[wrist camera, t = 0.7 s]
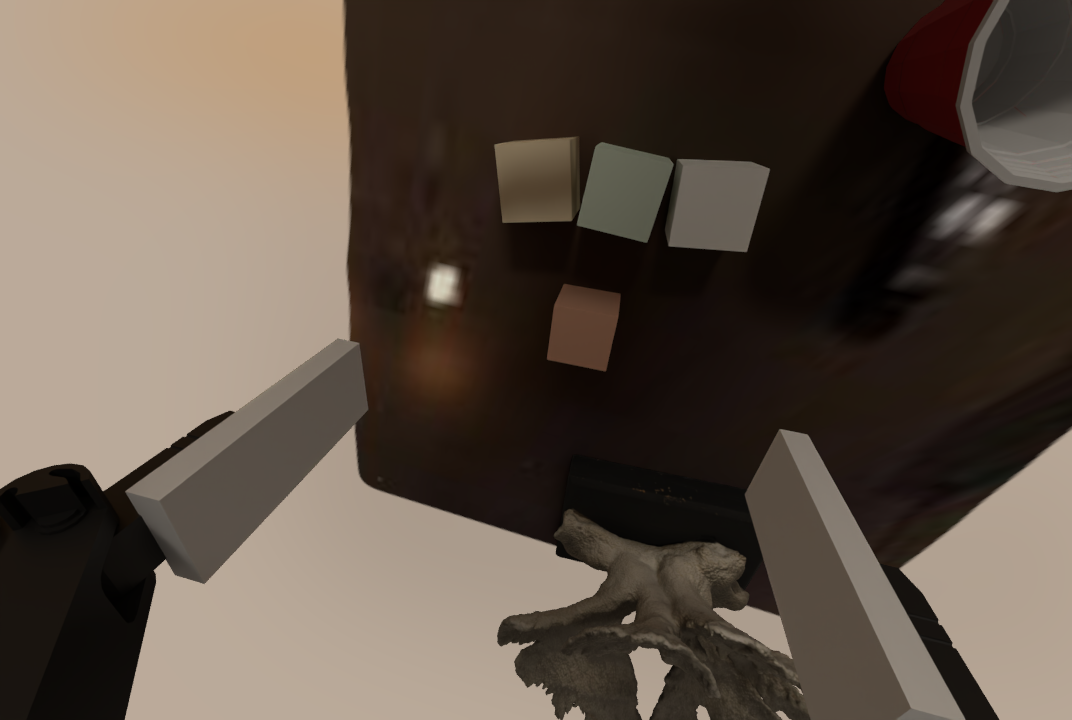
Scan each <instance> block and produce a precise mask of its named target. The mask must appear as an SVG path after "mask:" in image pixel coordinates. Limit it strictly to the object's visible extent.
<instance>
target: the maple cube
mask: <svg viewBox="0 0 1072 720" xmlns="http://www.w3.org/2000/svg"><path fill="white" fill-rule="evenodd" d="M495 154H496V163H497V173H498V183H499V192H500V202H501V211H502V221H503V223H515V222H553V221H572V220H573V218H574V217H575V215H576V213H577V212H578V210H579V209H580V164H579V137H564V138H550V139H536V140H522V141H511V142H506V143H501V144H496V145H495Z"/></svg>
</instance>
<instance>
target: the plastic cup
mask: <svg viewBox="0 0 1072 720" xmlns="http://www.w3.org/2000/svg"><path fill="white" fill-rule="evenodd" d="M884 91H885V94H886V96H887V99H888V102H889V105H890V106H891V108H892V109H893V110H895V111H896V112H897V113H898V114H900V115H901V116H902V117H903V118H905V119H906V120H908V121H911V122H913V123H916V124H918V125H920V126H921V127H922V128H923V129H925V130H927V131H930V132H932V133H934V134H937V135H939V136H941V137H943V138H946V139H948V140H950V141H953V142H955V143H957V144H960V145H962V146H964V147H966V149H967V152H968V153H970V154H971V155H972V156H973V157H974V158H975V159H977V160H978V161H979V162H980V163H981V164H982V165H984V166H985V167H986V168H987V169H988V170H990V171H991V172H992V173H993V174H994V175H995V176H997V177H998V178H999V179H1000V180H1001V181H1003V182H1004V183H1005V184H1011V185H1017V186H1023V187H1029V188H1035V189H1041V190H1047V191H1052V192H1060V191H1066V190H1071V189H1072V0H945V1H944V2H943V3H942V4H941V5H940V6H939V7H937V8H936V9H934V10H933V11H931V12H930V13H928V14H927V15H925V16H924V17H922V18H921V19H920V20H919V21H918V22H917V23H916V24H915V25H914V27H913V28H912V29H911V30H910V31H909V32H908V33H907V34H906V36H905V37H904V38H903V39H902V40H901V41H900V42H899V43H898V45H897V47H896V49H895V51H894V53H893V55H892V57H891V59H890V61H889V63H888V65H887V67H886V74H885V82H884Z"/></svg>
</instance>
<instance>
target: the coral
mask: <svg viewBox="0 0 1072 720" xmlns="http://www.w3.org/2000/svg"><path fill="white" fill-rule="evenodd" d="M746 491H747V489H741V488H737V487H732V486H727V485H722V484H717V483H712V482H707V481H702V480H698V479H693V478H687V477H683V476H677V475H673V474H667V473H663V472H658V471H653V470H648V469H642V468H638V467H634V466H629V465H624V464H619V463H614V462H609V461H604V460H600V459H595V458H590V457H585V456H580V455H573V457H572V461H571V466H570V470H569V475H568V481H567V487H566V493H565V499H564V505H563V511H562V517H561V523H560V527H559V529H558V530H557V531H556V532H555V534H554V538H555V539H557V540H558V542H557V548H556V555H557V556H559V557H562V558H567V559H571V560H575V561H579V562H584V563H585V564H587V565H589V566H590V567H592V568H594V569H597V570H602V571H607V573H608V576H607V579H606V580H605V581H604V582H603V583H602V584H601V586H600V588H599V590H598V591H597V593H596V594H595V595H594V596H593V597H590V598H586V599H584V600H582V601H580V602H577V603H576V604H572V605H570V606H568V607H565V608H559V609H556V610H549V611H544V612H539V611H535V612H534V613H531V614H519V615H513V616H509V617H507V618H506V619H504V620H503V621H502V623H501V625H500V627H499V630H498V635H497V637H498V641H497V642H498V644H499V645H500V646H503V645H505V644H506V645H507V644H508V643H509V642H512V643H517V642H519V645H522V644H523V643H530V642H532V641H533V642H534V641H535V640H536V641H535V642H534V644H533V645H530V646H529V647H526V648H525V649H522V650H521V651H520V653H519V655H518V656H517V658H516V659H515V661H514V663H515V667H516V670H515V671H516V673H517V675H518V676H519V677H520V678H521V679H522V681H524V683H525V685H526V686H527V687H529V686H531V685H532V684H533V683H534V684H536V686H537V687H538V686H539V685H540V684H541V683H543V684H544V685H543V688H542V689H545V688H546V687H547V688H548V689H547V691H546V695H547V694H551V693H554V694H553V698H552V700H551V701H552V704H553V705H554V707H555V715H556V717H557V718H558V719H559V718H560V720H563V717H564V714H565V712H566V713H567V714H568V712H569V711H570V710H571V708H572V707H577V706H579V707H580V710H581V711H582V713H583V714H584V712H585V720H642V719H641V716H640V714H639V713H638V710H637V709H636V706H637V705H638V702H637V700H638V699H637V696H636V694H637V680H636V678H635V674H634V669H633V665H632V662H631V659H630V657H629V655H628V654H630V653H631V652H632V650H633V651H635V650H636V649H637V648H638V646H641V647H642V648H655V649H658V650H659V652H660V655H661V658H662V660H663V661H664V662H665V663H666V664H670V665H673V666H672V667H671V669H670V671H669V673H667V675H666V676H665V678H664V681H665V683H666V684H665V686H664V689H663V690H662V691H663V692H662V694H661V695H660V697H659V699H658V703H657V704H656V706H655V708H654V710H653V713H652V716H651V717H650V719H649V720H698V719H697V712H696V709H697V708H698V706H699V705H701V706H703V707H705V708H706V709H707V711H708V714H709V716H710V720H782V719H781V717H779V716H778V715H777V714H776V712H777V711H779V710H780V711H783V712H784V713H785V714H786V715H787V717H788V718H789V719H792V720H811V719H810V716H809V712H808V709H807V706H806V702H805V699H804V695H802V694H800V693H799V690H798V689H797V688H796V687H794V686H797V687H798V688H799V689H801V685H800V682H799V678H798V675H797V672H796V668H795V665H794V661H793V659H790V658H789V657H788V656H787V655H785V654H782V653H780V652H779V651H773V650H770V649H769V648H768V647H766V646H765V645H763V644H762V643H761V642H759V641H757V640H756V639H754V638H752V637H750V636H749V635H748V634H746V633H744V632H743V631H741V630H739V629H737V628H735V627H734V626H733V625H732V624H730V623H728V622H727V621H725V620H724V619H723V618H722V617H720V616H719V615H718V614H717V613H716V612H715V611H713V608H717V607H719V608H727V609H729V610H733V611H737V610H741V609H743V608H744V607H745V606H746V604H747V602H748V598H749V593H747V592H746V591H744V590H745V589H746V587H747V585H748V584H749V582H750V581H751V579H752V577H753V575H754V574H755V572H756V571H757V569H758V568H759V566H760V564H761V563H762V561H763V556H762V552H761V549H760V545H759V542H758V539H757V535H756V532H755V528H754V525H753V521H752V518H751V515H750V511H749V508H748V504H747V501H746V498H745V493H746ZM634 611H636V616H635V620H634V622H632V623H630V624H621V623H622V620H623V619H624V617H625V616H627V615H630V614H631V612H634ZM793 685H794V686H793ZM801 691H802V689H801ZM802 693H803V692H802ZM761 697H762V698H763V700H762V699H761ZM573 703H575V704H573Z"/></svg>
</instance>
